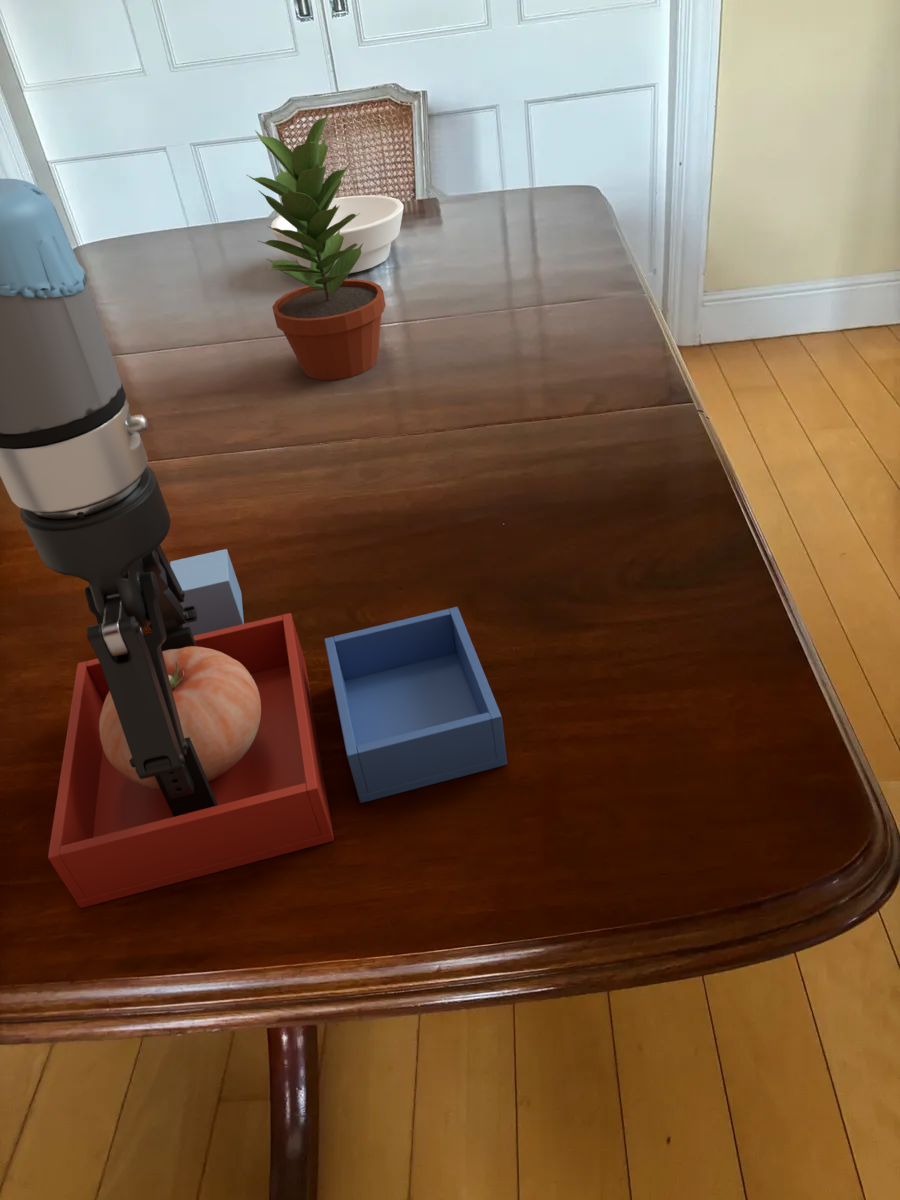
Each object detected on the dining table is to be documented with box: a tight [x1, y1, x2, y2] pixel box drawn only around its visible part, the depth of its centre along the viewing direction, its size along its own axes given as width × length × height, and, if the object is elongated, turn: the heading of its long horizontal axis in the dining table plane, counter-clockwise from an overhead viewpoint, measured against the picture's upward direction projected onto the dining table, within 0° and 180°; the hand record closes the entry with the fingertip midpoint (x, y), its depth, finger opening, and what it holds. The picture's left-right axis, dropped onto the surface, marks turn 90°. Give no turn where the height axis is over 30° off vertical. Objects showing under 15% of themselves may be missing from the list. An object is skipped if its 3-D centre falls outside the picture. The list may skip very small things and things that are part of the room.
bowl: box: [270, 194, 404, 277], centre depth 152 cm, size 22×22×8 cm
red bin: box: [47, 612, 335, 909], centre depth 63 cm, size 16×18×5 cm
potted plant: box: [246, 108, 387, 381], centre depth 111 cm, size 15×15×30 cm
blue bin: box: [324, 606, 508, 804], centre depth 65 cm, size 10×12×5 cm
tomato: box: [99, 646, 261, 789], centre depth 61 cm, size 11×11×8 cm
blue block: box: [169, 548, 245, 636], centre depth 78 cm, size 5×5×5 cm
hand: (197, 752), depth 63 cm, fingers closed on tomato, 11 cm apart
